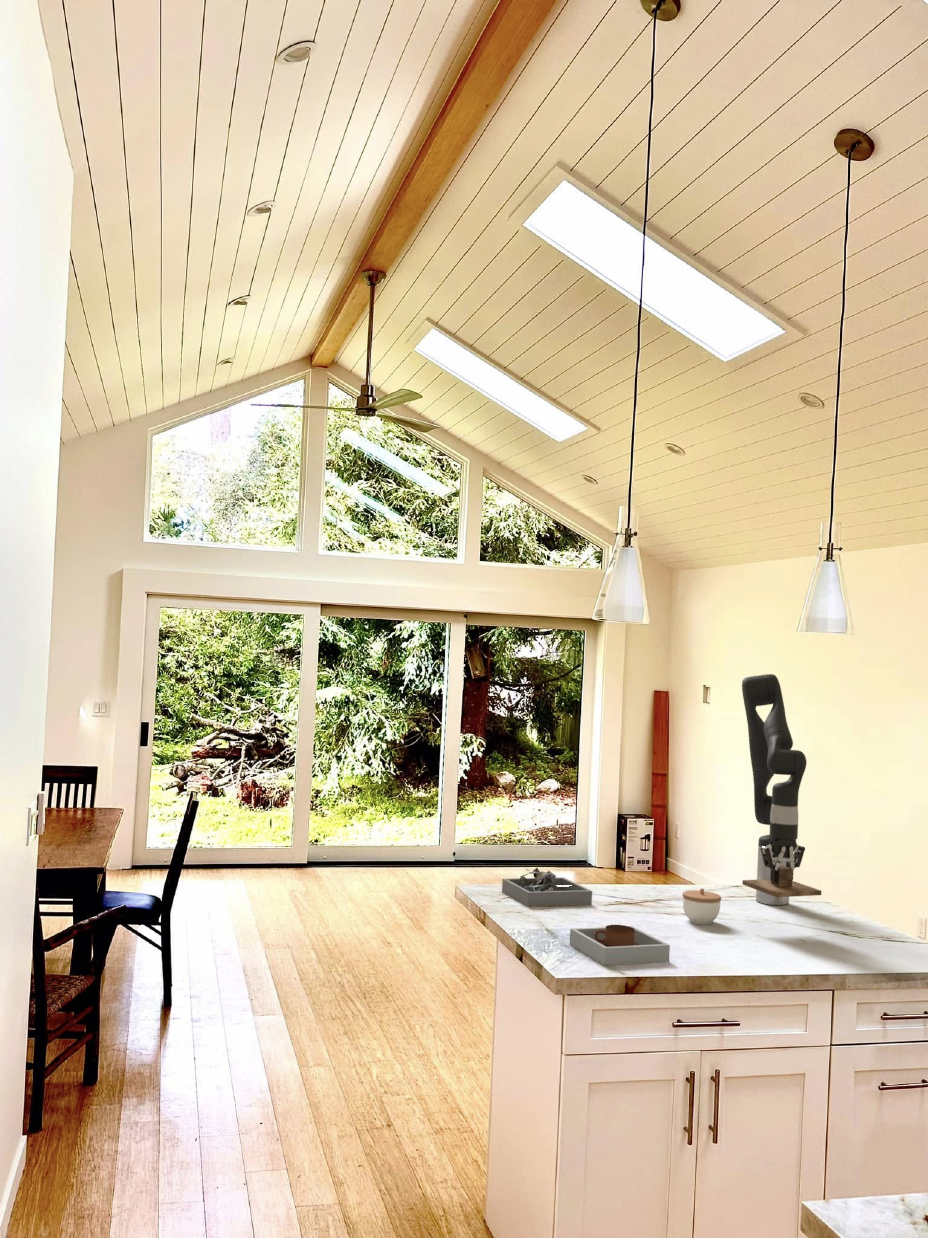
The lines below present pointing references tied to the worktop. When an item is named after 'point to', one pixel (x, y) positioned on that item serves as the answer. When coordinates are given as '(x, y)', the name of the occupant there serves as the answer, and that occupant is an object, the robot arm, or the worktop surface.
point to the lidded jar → (701, 906)
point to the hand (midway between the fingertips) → (781, 882)
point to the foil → (538, 881)
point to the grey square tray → (620, 947)
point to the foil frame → (548, 893)
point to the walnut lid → (782, 885)
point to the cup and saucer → (617, 936)
